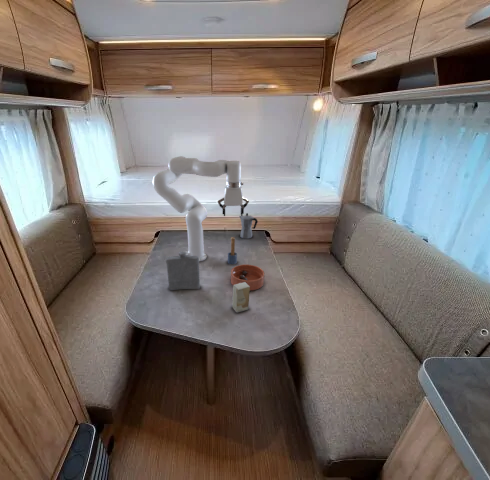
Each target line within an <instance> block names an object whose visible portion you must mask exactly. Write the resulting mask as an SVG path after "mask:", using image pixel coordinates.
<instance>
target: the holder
mask: <svg viewBox="0 0 490 480" xmlns="http://www.w3.org/2000/svg"><path fill="white" fill-rule="evenodd" d="M237 260H238V254H237V253H236V252H234V256H231V251H230V252H228V253H227V263H228V264H229V265H236V264H237V263H238V261H237Z"/></svg>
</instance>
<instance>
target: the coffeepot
mask: <svg viewBox="0 0 490 480" xmlns="http://www.w3.org/2000/svg"><path fill="white" fill-rule="evenodd" d="M239 219H240V222H241V223H240V224H241V225H240V226H241V230H240V234H239V235H240V236H239V237H240V238H241V239H252V237H253V230H255V229H256V227H257V225H258V222H259V221H258V219H257V218H256V217H254V216H252V215H249V213H248V212H247V213H245V215H242V216H241V215H239ZM253 222H254V225H253ZM252 225H253V226H252ZM252 229H253V230H252Z"/></svg>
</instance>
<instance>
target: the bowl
mask: <svg viewBox="0 0 490 480" xmlns="http://www.w3.org/2000/svg"><path fill="white" fill-rule="evenodd" d="M242 271H246V272H247V275H246V276H245V278H247V279H248V281H246V280H241V279H239V276H240V275H242ZM243 282H246V283H247V284H248V285H249V286H250V291H255V290H259V289H261V288H262V287H263V286H264V283H265V272H264V270H263V269H262V268H261V267H259V266H257V265H253V264H247V263H246V264H238V265H236V266H234V267H233V268H231V270H230V283H231V285H232V286H233V285H235V284H239V283H243Z"/></svg>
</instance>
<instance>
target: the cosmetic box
mask: <svg viewBox="0 0 490 480" xmlns="http://www.w3.org/2000/svg"><path fill="white" fill-rule="evenodd" d="M232 286H233V287H232V305H231V306H232V307H231V308H232V309H233V311H235V312H236V313H240V312H245V311H247V310H249V306H250V305H249V304H250V291H251V290H250V286H249V285H248V284H247V283H246V282H243V283H239V284H235V285H232Z"/></svg>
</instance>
